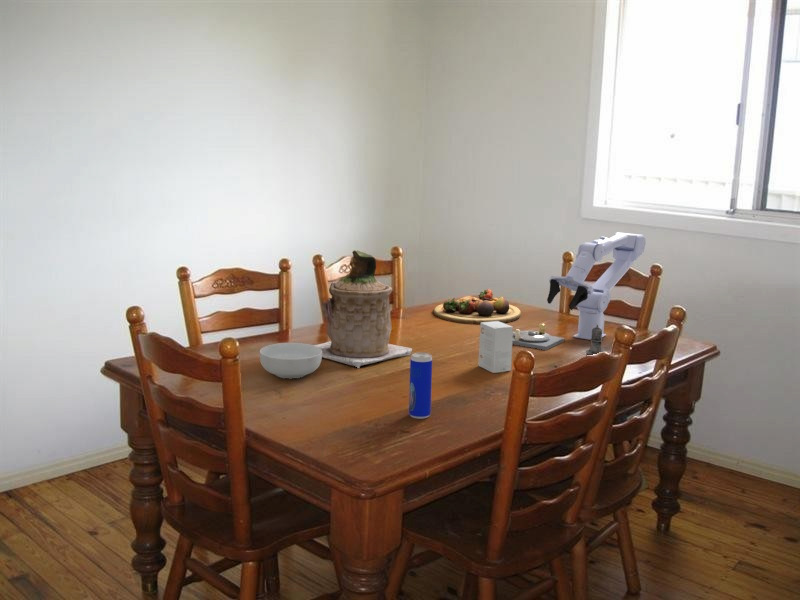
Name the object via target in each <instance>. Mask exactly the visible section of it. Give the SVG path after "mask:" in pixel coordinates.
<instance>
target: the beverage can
mask: <svg viewBox="0 0 800 600" xmlns="http://www.w3.org/2000/svg"><path fill="white" fill-rule="evenodd" d="M409 366H410V367H409V393H408V395H409V397H408V398H409V399H408V400H409V401H408V402H409V403H408V415H409V416H410V417H411V418H413V419H417V420H418V419H419V420H423V419H427V418H429V417H430V416H431V410H432V409H431V408H432V380H433V377H432V376H433V358H432V354H431V353H427V352H415V353H411V356H410V363H409Z"/></svg>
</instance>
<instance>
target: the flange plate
mask: <svg viewBox="0 0 800 600" xmlns="http://www.w3.org/2000/svg"><path fill="white" fill-rule="evenodd" d="M513 336H515V331H513ZM550 336H551V335H550V334H549V333H547V332H546V323H539V324H538V330H520V339H519V340H523V341H529V342H544V341H548V340H549V339H550Z"/></svg>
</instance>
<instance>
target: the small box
mask: <svg viewBox="0 0 800 600" xmlns="http://www.w3.org/2000/svg"><path fill="white" fill-rule="evenodd" d="M513 332H514V326H512V325H509V324H507V323H502V322H499V321H493V322H481V323H480V324H479V345H478V362H477V363H478V364H477V365H478V366H479V367H480V368H482V369H484V370H486V371H488V372H490V373H492V374H495V373H496V374H497V373H505V372H511V371H512V357H513V344H512V341H513Z"/></svg>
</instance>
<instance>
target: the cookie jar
mask: <svg viewBox="0 0 800 600" xmlns="http://www.w3.org/2000/svg"><path fill="white" fill-rule="evenodd" d="M349 265H350V266H351V268H350V271H349V273H347V274H345V275H344V276H342V277H341V278H340V279H339V280H338V281H337V282H336V281H332V282H331V283H330V285H329V288H328V291H329V292H328V293H329V294H330V295H331V297H328V298H327V299H326V301H324V302H322V304H321V308H322V311H323V313H324V316H325V318H326V321H327V322H326V335H327V337H328V338H329V339H330V340H329V341H326V342H323V343H318V344H312V345H313V346H316V347H318V348H320V349H321V350H322V358H324V359H327V360H331V361H335V362H339V363H341V364H346V365H348V366H352V367H354V366H355V367H354V368H356V367H357V369H358V368H359V369H361V368H360V367H361V366H364V365H370V364H375V363H377V362H382V361H386V360H391V359H395V358H399V357H406V356H410V355H411V356H412V351H413V348H411V347H407V346H401V345H397V344H391V343H389V342H390V341H389V340H390V337H391V331H392V320H391V306H390V295H391V293H392V292H393V288H392V287H391V286H389V284H384V283H382V282H381V281H379V280H378V279H377V278H375V275H376V270H377V260H376V258H375V257H374V256H373V255H371V254H368V253H366V252H363V251H360V250H358V249H357V250H356V249H353V250H352V257H351V259H350V261H349Z"/></svg>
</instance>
